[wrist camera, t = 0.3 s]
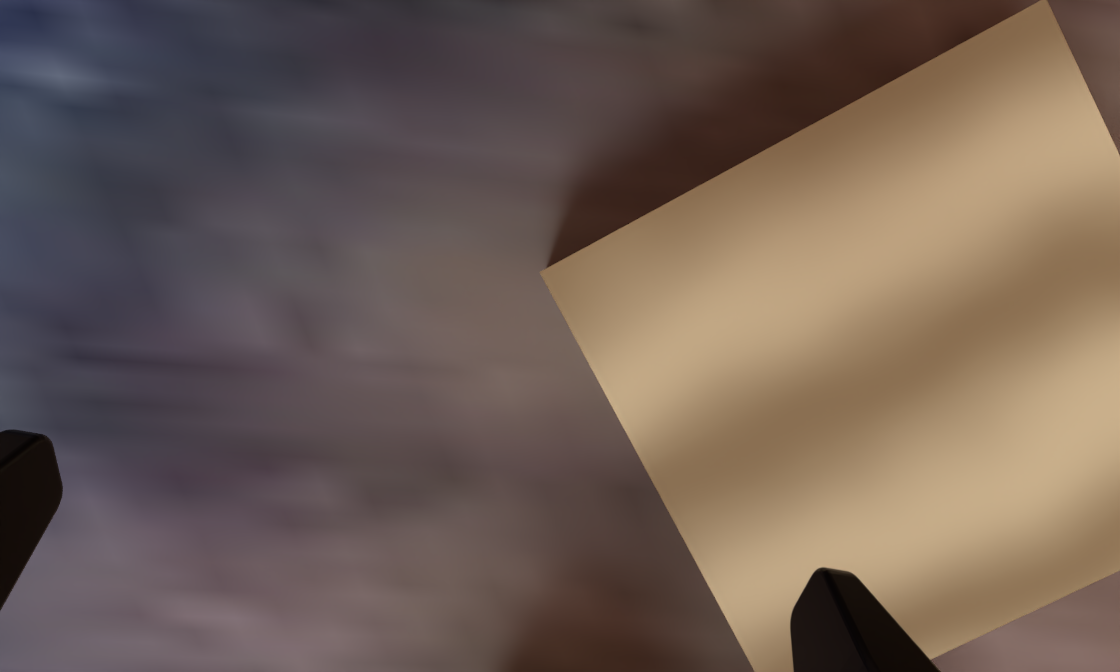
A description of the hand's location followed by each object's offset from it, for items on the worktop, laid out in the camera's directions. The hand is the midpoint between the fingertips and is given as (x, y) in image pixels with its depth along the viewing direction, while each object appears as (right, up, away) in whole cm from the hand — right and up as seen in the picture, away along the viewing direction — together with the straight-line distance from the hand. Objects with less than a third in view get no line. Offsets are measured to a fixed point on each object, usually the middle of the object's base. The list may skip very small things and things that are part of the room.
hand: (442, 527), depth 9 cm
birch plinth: (+10, +1, +13) cm, 17 cm away
